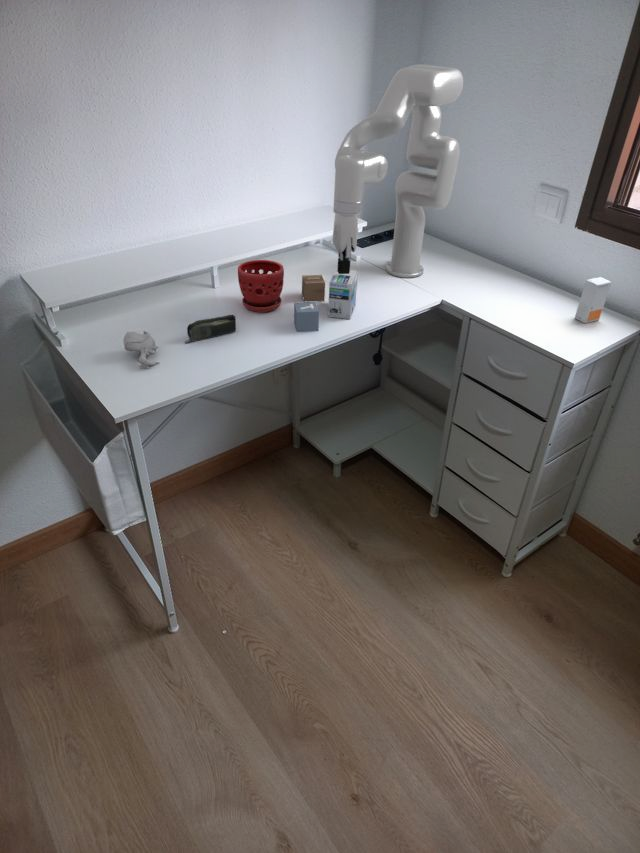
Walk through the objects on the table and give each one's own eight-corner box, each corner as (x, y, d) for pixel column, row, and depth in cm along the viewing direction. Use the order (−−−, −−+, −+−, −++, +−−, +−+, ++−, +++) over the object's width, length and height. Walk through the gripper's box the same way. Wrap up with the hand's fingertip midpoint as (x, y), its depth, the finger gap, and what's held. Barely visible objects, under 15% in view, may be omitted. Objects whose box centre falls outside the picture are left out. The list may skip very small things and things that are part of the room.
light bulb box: (350, 320, 178) (352, 284, 172) (327, 317, 179) (328, 281, 173) (356, 304, 187) (358, 270, 180) (334, 302, 188) (335, 267, 181)
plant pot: (293, 305, 184) (293, 266, 177) (260, 319, 177) (259, 279, 170) (263, 292, 192) (262, 254, 184) (230, 304, 184) (227, 265, 177)
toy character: (123, 371, 151) (119, 340, 159) (158, 377, 155) (152, 347, 163) (130, 353, 148) (126, 322, 155) (165, 360, 152) (159, 330, 160)
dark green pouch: (232, 312, 169) (180, 323, 162) (237, 316, 167) (185, 328, 160) (232, 328, 172) (182, 340, 165) (237, 333, 170) (186, 345, 163)
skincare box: (585, 324, 181) (597, 285, 174) (574, 318, 184) (585, 279, 177) (600, 320, 183) (612, 281, 176) (588, 314, 186) (600, 276, 179)
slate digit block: (294, 322, 176) (294, 302, 172) (315, 321, 177) (315, 301, 173) (296, 332, 171) (297, 311, 167) (318, 331, 172) (319, 310, 168)
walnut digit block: (301, 294, 192) (302, 274, 188) (321, 293, 193) (321, 274, 189) (304, 302, 187) (305, 282, 183) (324, 301, 188) (325, 282, 184)
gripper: (328, 198, 170) (325, 263, 181) (339, 214, 158) (335, 283, 169) (355, 198, 172) (350, 263, 182) (367, 214, 160) (362, 282, 170)
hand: (343, 272), depth 176 cm, fingers closed
